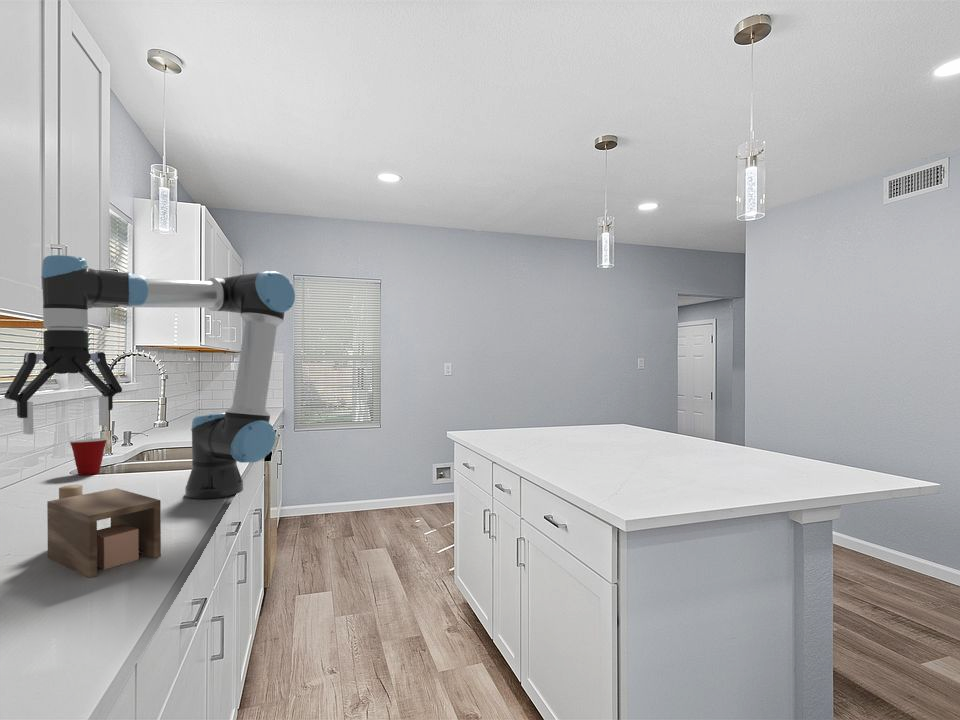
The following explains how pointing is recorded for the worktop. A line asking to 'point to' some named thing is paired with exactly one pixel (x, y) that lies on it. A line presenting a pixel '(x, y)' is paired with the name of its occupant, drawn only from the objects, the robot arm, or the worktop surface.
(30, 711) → the worktop surface
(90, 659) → the worktop surface
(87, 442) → the plastic cup
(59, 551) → the shelf lane
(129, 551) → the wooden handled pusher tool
